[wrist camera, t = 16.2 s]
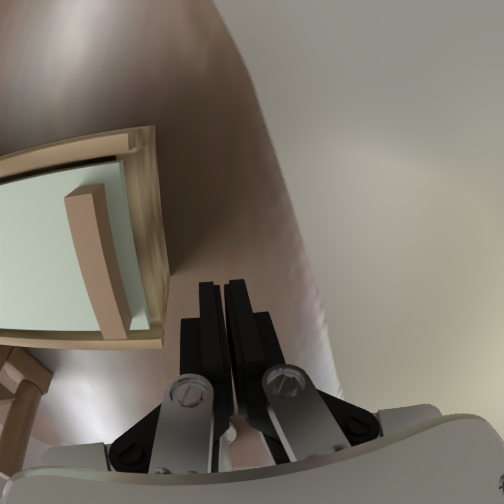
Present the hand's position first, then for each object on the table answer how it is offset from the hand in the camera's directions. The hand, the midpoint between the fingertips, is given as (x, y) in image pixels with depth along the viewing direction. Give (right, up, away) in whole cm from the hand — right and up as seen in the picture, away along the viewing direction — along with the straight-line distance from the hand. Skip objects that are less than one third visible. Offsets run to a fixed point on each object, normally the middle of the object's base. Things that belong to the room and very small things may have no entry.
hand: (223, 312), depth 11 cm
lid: (-16, +2, +4) cm, 17 cm away
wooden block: (-30, -11, +18) cm, 37 cm away
